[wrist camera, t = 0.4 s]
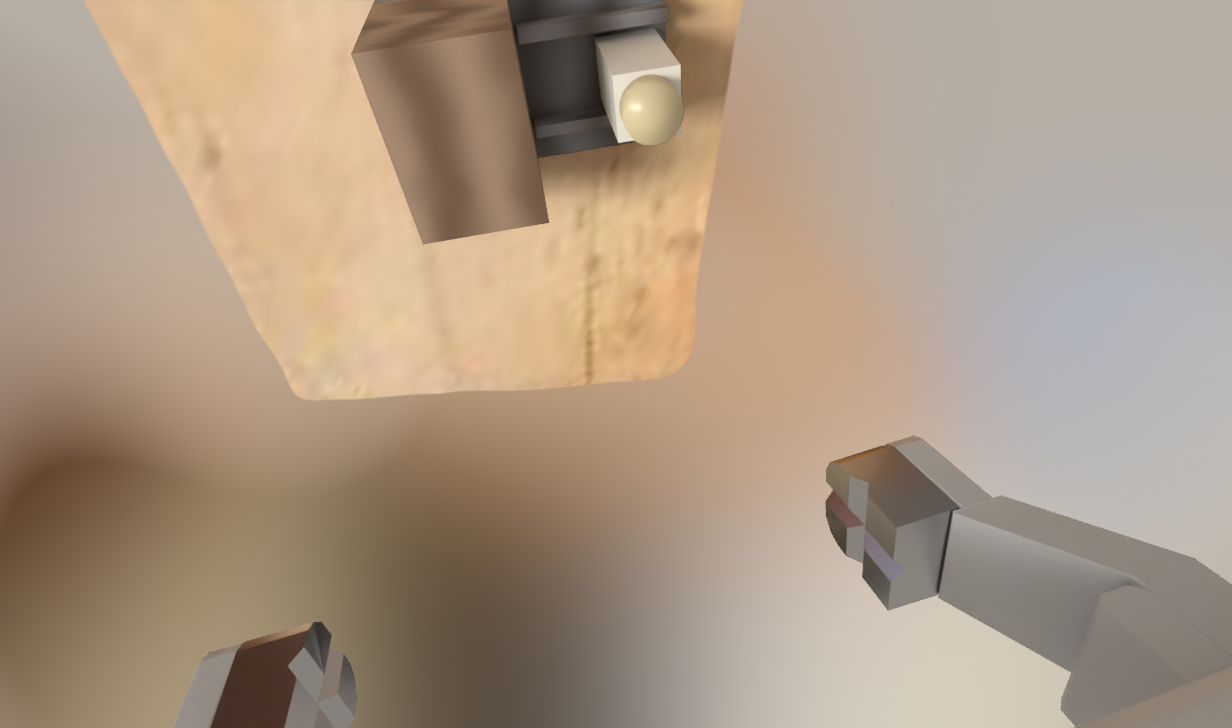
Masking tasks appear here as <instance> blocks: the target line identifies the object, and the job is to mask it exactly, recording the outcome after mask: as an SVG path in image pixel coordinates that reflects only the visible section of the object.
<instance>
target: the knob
mask: <svg viewBox="0 0 1232 728" xmlns="http://www.w3.org/2000/svg"><path fill="white" fill-rule="evenodd" d="M594 40H595V49H596V58H597V68H598V77H599V86H600V96H601V101H602V103H603V106H604V108H605V111H606V113H607V116H608V118H609V121H610V123H611V126H612V128H613V131H614V133H615V136H616V138H617V141H618V143H622V142H628V141H634V140H635V141H636V142H638V143H640V144H643V145H648V146H653V145H659V144H662V143H664V142H666V141H667V140H669V139H670V138H672V137H673V136H674V135H675V134H676V133H682V129H681V123H682V120H683V116H684V107H683V103H682V100H681V65H680V63H679V62H678V60H677V59H676V58H675V56H674V55H673V54H672V52H671V51H670V49H669V48H668V47H667V45H666V44H665V43H664V41H663V40H662V38H661V37H660V36H659V34H658V33H657V31H656V30H655V29H654V28H650V29H644V30H637V31H631V32H625V33H618V34H612V35H605V36H599V37H594Z"/></svg>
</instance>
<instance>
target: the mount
mask: <svg viewBox="0 0 1232 728" xmlns="http://www.w3.org/2000/svg"><path fill="white" fill-rule="evenodd" d="M665 22H669V7H668V6H667V5H666V4H665V2H664V0H375V1H374V3H373V5H372V8H371V10H370V12H369V15H368V17H367V19H366V21H365V24H364V26H363V28H362V30H361V33H360V35H359V37H358V39H357V42H356V44H355V46H354V49H353V51H352V53H351V55H352V58H353V60H354V63H355V65H356V68H357V71H358V73H359V76H360V79H361V81H362V84H363V87H364V89H365V92H366V95H367V97H368V100H369V103H370V105H371V108H372V110H373V113H374V116H375V118H376V121H377V124H378V126H379V129H380V132H381V134H382V137H383V140H384V142H385V145H386V148H387V150H388V153H389V156H390V158H391V161H392V163H393V166H394V169H395V171H396V174H397V177H398V179H399V182H400V185H401V187H402V190H403V193H404V195H405V198H406V201H407V203H408V206H409V208H410V211H411V214H412V216H413V219H414V222H415V224H416V227H417V230H418V232H419V235H420V238H421V240H422V243H423V244H428V243H434V242H439V241H445V240H451V239H457V238H463V237H468V236H474V235H480V234H486V233H492V232H497V231H503V230H509V229H515V228H521V227H526V226H532V225H538V224H544V223H549V220H548V214H547V208H546V202H545V196H544V191H543V185H542V179H541V173H540V167H539V161H538V158H540V157H546V156H552V155H559V154H565V153H571V152H577V151H583V150H589V149H595V148H601V147H607V146H613V145H619V144H625V143H631V142H636V141H635V140H634V141H628V142H622V143H618V141H617V138H616V136H615V133H614V131H613V128H612V126H611V123H610V121H609V118H608V116H607V113H606V111H605V108H604V106H603V103H602V101H601V96H600V86H599V77H598V68H597V58H596V49H595V40H594V37H599V36H605V35H612V34H618V33H625V32H631V31H637V30H644V29H650V28H654V29H655V30H656V31H657V33H658V34H659V36H660V37H661V38H662V40H663V41H664V43H665V44H666V42H665Z"/></svg>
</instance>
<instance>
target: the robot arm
mask: <svg viewBox="0 0 1232 728" xmlns="http://www.w3.org/2000/svg"><path fill="white" fill-rule="evenodd" d="M826 482H827V483H828V484H829V485H830V486H831V487H832V489H833V491H832V492H831V494H830V496H829V497H828V498H827V500H826V518H827V521H828V524H829V528H830V531H831V533H832V535H833V537H834V539H835V541H836V542H837V544H838V546H839V547H840V548H841V550H842V551H843V552H844V554H845V555H846V556H848V557H850V558H852V559H854V560H857V561H859V562H861V563H863V573H862V577H863V579H864V580H865V581H866V582H867V584H868V585H869V586H870V588H871V589H872V590H873V592H874V593H875V594H876V595H877V597H878V598H879V599H880V600H881V602H882V603H883V605H884V606H885V607H886V608H887V610H891V609H894V608H898V607H901V606H904V605H907V604H910V603H913V602H917V601H920V600H923V599H926V598H930V597H933V596H936V595H939V597H938V598H940V599H941V600H943V601H945V602H947V603H949V604H951V605H952V606H954V607H956V608H957V609H959V610H961V611H963V612H965V613H966V614H968V615H970V616H972V617H974V618H975V619H977V620H979V621H981V622H983V623H984V624H986V625H988V626H989V627H991V628H993V629H995V630H997V631H998V632H1000V633H1002V634H1004V635H1006V636H1007V637H1009V638H1011V639H1013V640H1015V641H1016V642H1018V643H1020V644H1021V645H1024V646H1025V647H1027V648H1029V649H1030V650H1032V651H1034V652H1036V653H1037V654H1039V655H1041V656H1043V657H1045V658H1046V659H1048V660H1050V661H1052V662H1053V663H1055V664H1057V665H1059V666H1061V667H1062V668H1064V669H1066V670H1068V671H1070V672H1071V675H1070V678H1069V680H1068V683H1067V685H1066V688H1065V690H1064V693H1063V696H1062V698H1061V711H1062V712H1063V713H1064V714H1065V715H1066V716H1067V717H1068V719H1069V720H1070V721H1071V722H1072V723H1073V724H1074V725H1075V726H1076V727H1074V728H1232V584H1230V583H1229V582H1227V581H1226V580H1225V579H1223V578H1222V577H1220V576H1219V575H1217V574H1216V573H1215V572H1213V571H1212V570H1210V569H1209V568H1208V567H1206V566H1205V565H1203V564H1202V563H1200V562H1199V561H1198V560H1196V559H1195V558H1192V557H1189V556H1186V555H1183V554H1180V553H1176V552H1174V551H1170V550H1167V549H1164V548H1161V547H1158V546H1155V545H1152V544H1149V543H1146V542H1143V541H1140V540H1137V539H1133V538H1130V537H1127V536H1124V535H1121V534H1118V533H1115V532H1112V531H1109V530H1106V529H1103V528H1100V527H1097V526H1093V525H1091V524H1088V523H1084V522H1081V521H1078V520H1075V519H1072V518H1069V517H1066V516H1063V515H1060V514H1057V513H1054V512H1051V511H1047V510H1045V509H1041V508H1038V507H1035V506H1032V505H1029V504H1026V503H1023V502H1020V501H1016V500H1014V499H1011V498H1008V497H1005V496H999V497H995V498H992V497H991V496H990V495H989V494H988V493H986V492H985V491H984V490H982V488H980V487H979V486H978V485H977V484H976V483H974V482H973V481H972V480H971V479H970V478H969V477H967V476H966V475H965V474H964V473H963V472H961V471H960V470H959V469H958V468H957V467H955V466H954V465H953V464H952V463H951V462H950V461H948V460H947V459H946V458H945V457H944V456H942V455H941V454H940V453H939V452H938V451H936V450H935V449H934V448H933V447H932V446H931V445H929V444H928V443H927V442H926V441H924V440H923V439H922V438H920V437H916V436H911V437H908V438H905V439H902V440H899V441H895V442H892V443H889V444H886V445H885V446H879V447H877V448H873V449H870V450H867V451H864V452H861V453H857V454H854V455H851V456H848V457H845V458H842V459H839V460H836V461H833V462H830V463H829V465H828V467H827V470H826ZM331 637H332V635H331V633H330V632H329V631H328V630H327V628H326V627H325V625H324V624H323V623H322V622H312V623H309V624H305V625H302V626H298V627H295V628H291V629H287V630H284V631H281V632H277V633H273V634H270V635H266V636H263V637H259V638H256V639H252V640H249V641H245V642H244V643H240V644H237V645H234V646H230V647H226V648H223V649H219V650H216V651H212V652H209V653H208V654H207V655H206V656H205V657H204V658H203V659H202V660H201V661H200V662H199V664H198V666H197V669H196V671H195V674H194V676H193V679H192V682H191V684H190V686H189V689H188V691H187V694H186V696H185V699H184V701H183V704H182V706H181V709H180V711H179V714H178V716H177V719H176V721H175V724H174V726H173V728H348V727H349V726H350V724H351V723H352V721H353V720H354V719H355V712H356V703H357V692H356V682H355V676H354V673H353V670H352V667H351V664H350V662H349V661H348V659H347V658H346V656H345V655H344V653H341V652H338V651H335V650H332V649H330V642H331Z"/></svg>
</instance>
